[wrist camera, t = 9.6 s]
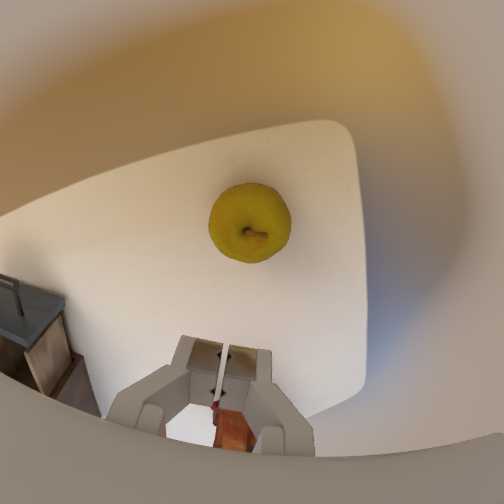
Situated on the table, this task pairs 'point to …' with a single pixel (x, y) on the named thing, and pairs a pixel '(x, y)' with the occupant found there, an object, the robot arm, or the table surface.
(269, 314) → the table surface
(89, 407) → the cabinet
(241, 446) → the mug
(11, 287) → the drawer
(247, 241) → the apple
